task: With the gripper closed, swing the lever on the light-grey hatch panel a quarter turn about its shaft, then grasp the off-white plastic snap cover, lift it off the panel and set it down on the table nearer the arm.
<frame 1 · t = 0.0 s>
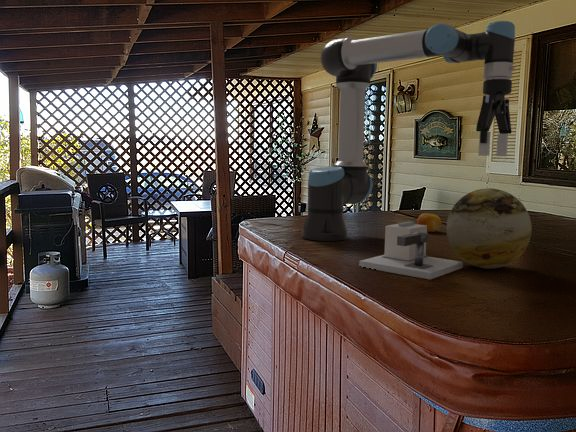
hand: (492, 156, 152), 28 cm above the worktop, fingers open, 13 cm apart
lever: (412, 250, 124), point 6 cm above the worktop, hinge at 0.0°
hatch panel: (411, 267, 133), on the worktop
cover: (405, 256, 138), point 2 cm above the worktop, touching hatch panel
decorative sphere: (485, 268, 134), on the worktop
fruit: (428, 232, 197), on the worktop
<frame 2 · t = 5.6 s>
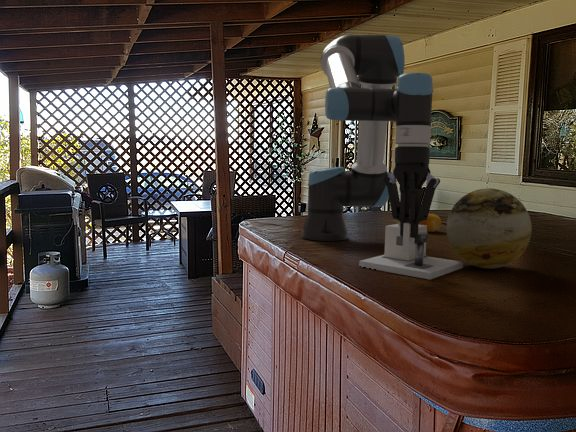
hand: (408, 251, 120), 6 cm above the worktop, fingers closed
lever: (411, 250, 124), point 6 cm above the worktop, hinge at 1.3°, touching gripper
everything else where it was.
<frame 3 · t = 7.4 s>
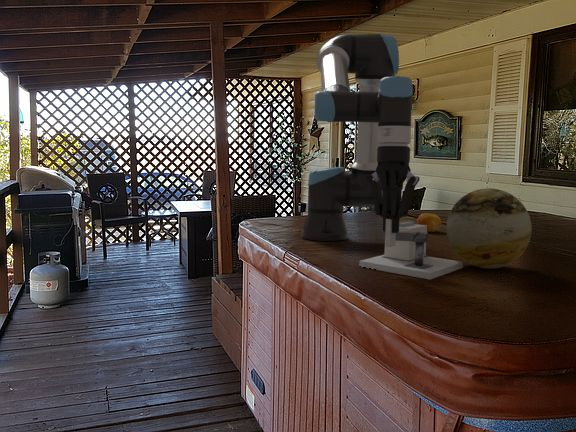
hand: (390, 246, 126), 6 cm above the worktop, fingers closed
lever: (403, 247, 128), point 6 cm above the worktop, hinge at 61.8°, touching gripper
everything else where it was.
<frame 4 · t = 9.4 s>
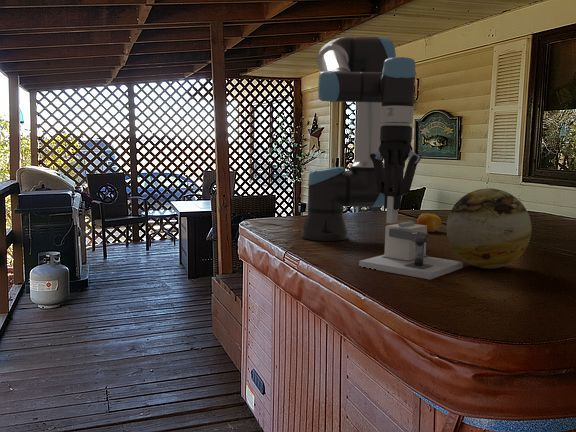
hand: (391, 222, 131), 11 cm above the worktop, fingers closed
lever: (407, 246, 130), point 6 cm above the worktop, hinge at 103.2°
everything else where it was.
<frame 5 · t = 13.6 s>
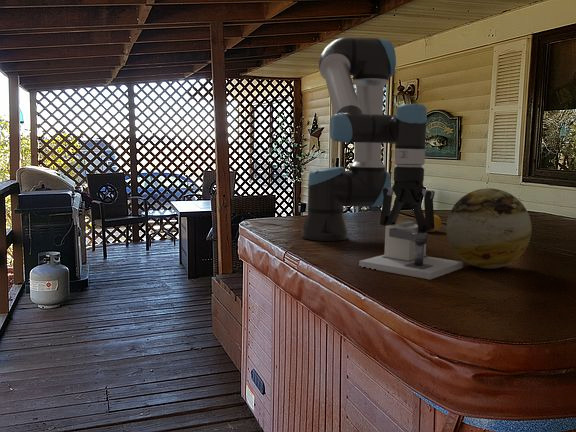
hand: (405, 254, 138), 2 cm above the worktop, fingers closed on cover, 7 cm apart
lever: (407, 246, 130), point 6 cm above the worktop, hinge at 103.6°
cover: (405, 256, 138), point 2 cm above the worktop, touching gripper, hatch panel
everything else where it was.
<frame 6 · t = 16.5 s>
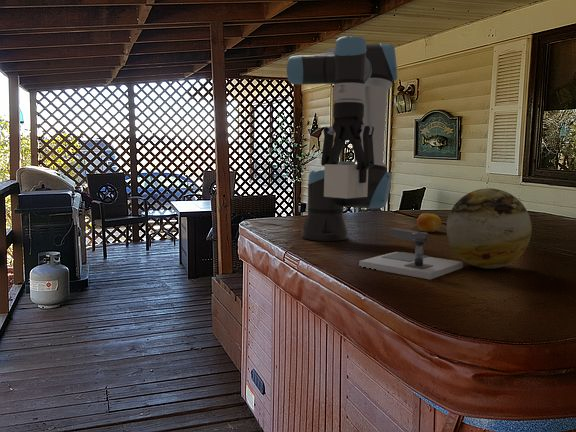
hand: (345, 195, 134), 17 cm above the worktop, fingers closed on cover, 7 cm apart
cover: (345, 196, 134), point 17 cm above the worktop, touching gripper
everything else where it was.
when the fingers open (2 cm above the worktop, at t = 19.6 s): cover drops 1 cm, on the worktop.
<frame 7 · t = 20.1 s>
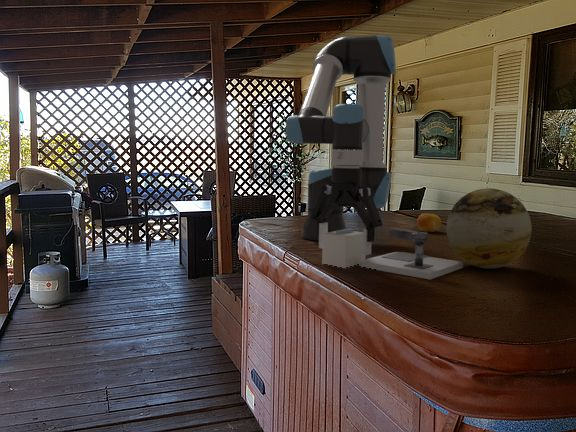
hand: (344, 251, 136), 3 cm above the worktop, fingers open, 13 cm apart
cover: (343, 264, 136), on the worktop
everything else where it was.
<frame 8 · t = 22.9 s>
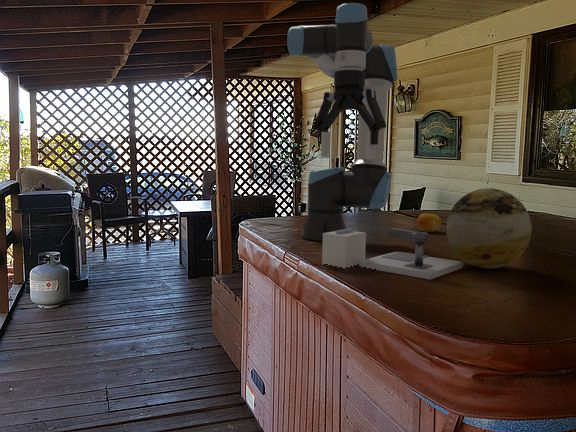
hand: (347, 158, 133), 27 cm above the worktop, fingers open, 13 cm apart
nothing on the worktop moved.
at the end: lever at +104° (first picture: +0°); cover inside the target area (0.0 cm from its centre), on the worktop; cover tilted 0° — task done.
